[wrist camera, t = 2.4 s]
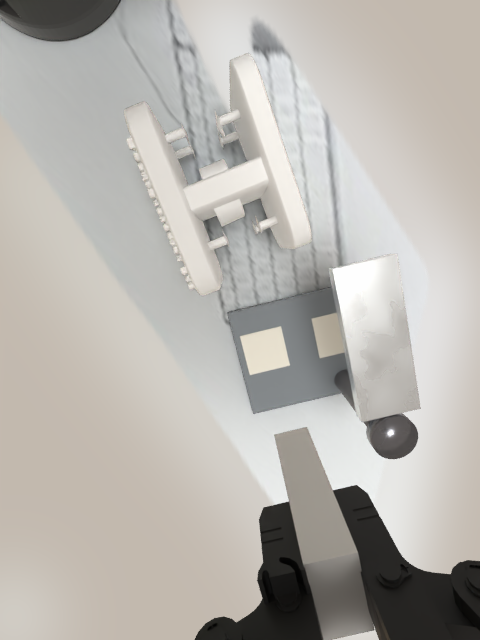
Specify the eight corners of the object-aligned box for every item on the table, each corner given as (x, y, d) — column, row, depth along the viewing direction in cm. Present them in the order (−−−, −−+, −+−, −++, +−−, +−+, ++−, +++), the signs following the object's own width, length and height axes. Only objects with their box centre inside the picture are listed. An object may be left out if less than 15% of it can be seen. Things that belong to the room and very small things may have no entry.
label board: (227, 312, 39) (225, 340, 27) (351, 281, 39) (404, 296, 27) (252, 410, 41) (260, 474, 30) (369, 382, 41) (425, 436, 29)
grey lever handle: (328, 269, 26) (332, 269, 25) (389, 253, 26) (397, 254, 25) (364, 456, 29) (369, 464, 28) (419, 443, 29) (427, 451, 28)
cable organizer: (295, 250, 38) (322, 252, 26) (204, 286, 38) (192, 302, 27) (245, 106, 35) (251, 38, 24) (147, 147, 35) (107, 100, 24)
